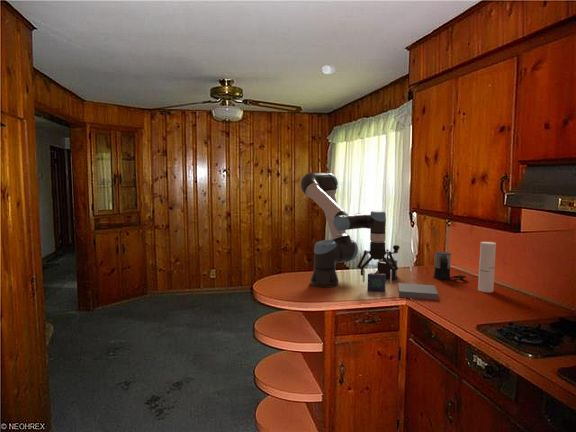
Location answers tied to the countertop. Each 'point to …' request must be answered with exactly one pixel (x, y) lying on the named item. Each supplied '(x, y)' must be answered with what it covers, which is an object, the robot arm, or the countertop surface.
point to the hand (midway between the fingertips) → (377, 282)
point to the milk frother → (443, 266)
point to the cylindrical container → (487, 266)
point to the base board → (417, 291)
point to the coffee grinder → (384, 268)
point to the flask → (376, 282)
